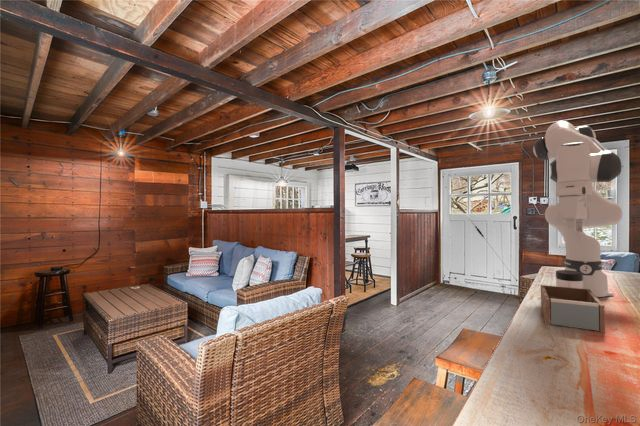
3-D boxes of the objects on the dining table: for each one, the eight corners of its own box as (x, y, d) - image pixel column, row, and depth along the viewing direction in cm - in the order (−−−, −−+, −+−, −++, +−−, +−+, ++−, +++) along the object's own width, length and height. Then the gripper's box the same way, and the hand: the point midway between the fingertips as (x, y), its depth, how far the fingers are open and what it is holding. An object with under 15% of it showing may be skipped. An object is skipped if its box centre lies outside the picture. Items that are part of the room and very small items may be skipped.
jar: (590, 304, 114) (589, 273, 114) (576, 308, 111) (575, 275, 111) (563, 298, 122) (563, 269, 122) (550, 301, 119) (549, 271, 119)
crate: (541, 306, 114) (540, 285, 114) (590, 311, 107) (589, 289, 107) (546, 324, 97) (545, 299, 97) (605, 332, 90) (604, 305, 90)
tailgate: (550, 322, 97) (550, 298, 97) (598, 329, 91) (597, 303, 91) (551, 324, 96) (550, 299, 96) (599, 330, 90) (598, 304, 90)
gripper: (569, 192, 109) (570, 231, 108) (554, 190, 95) (555, 234, 95) (592, 191, 104) (594, 231, 104) (580, 188, 91) (581, 234, 90)
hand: (575, 233), depth 99 cm, fingers open, 8 cm apart
